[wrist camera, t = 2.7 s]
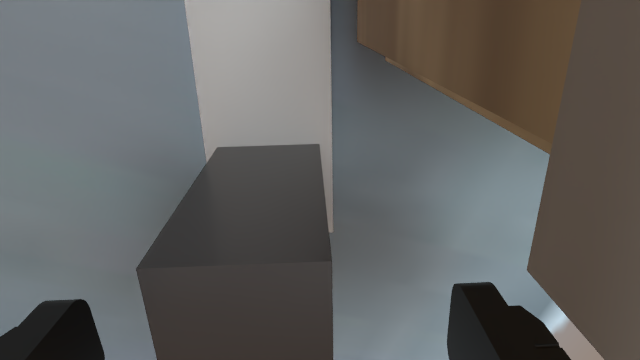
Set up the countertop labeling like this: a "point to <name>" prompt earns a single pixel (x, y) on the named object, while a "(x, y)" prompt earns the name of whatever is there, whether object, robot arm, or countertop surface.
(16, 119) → the countertop surface
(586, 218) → the cabinet
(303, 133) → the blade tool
